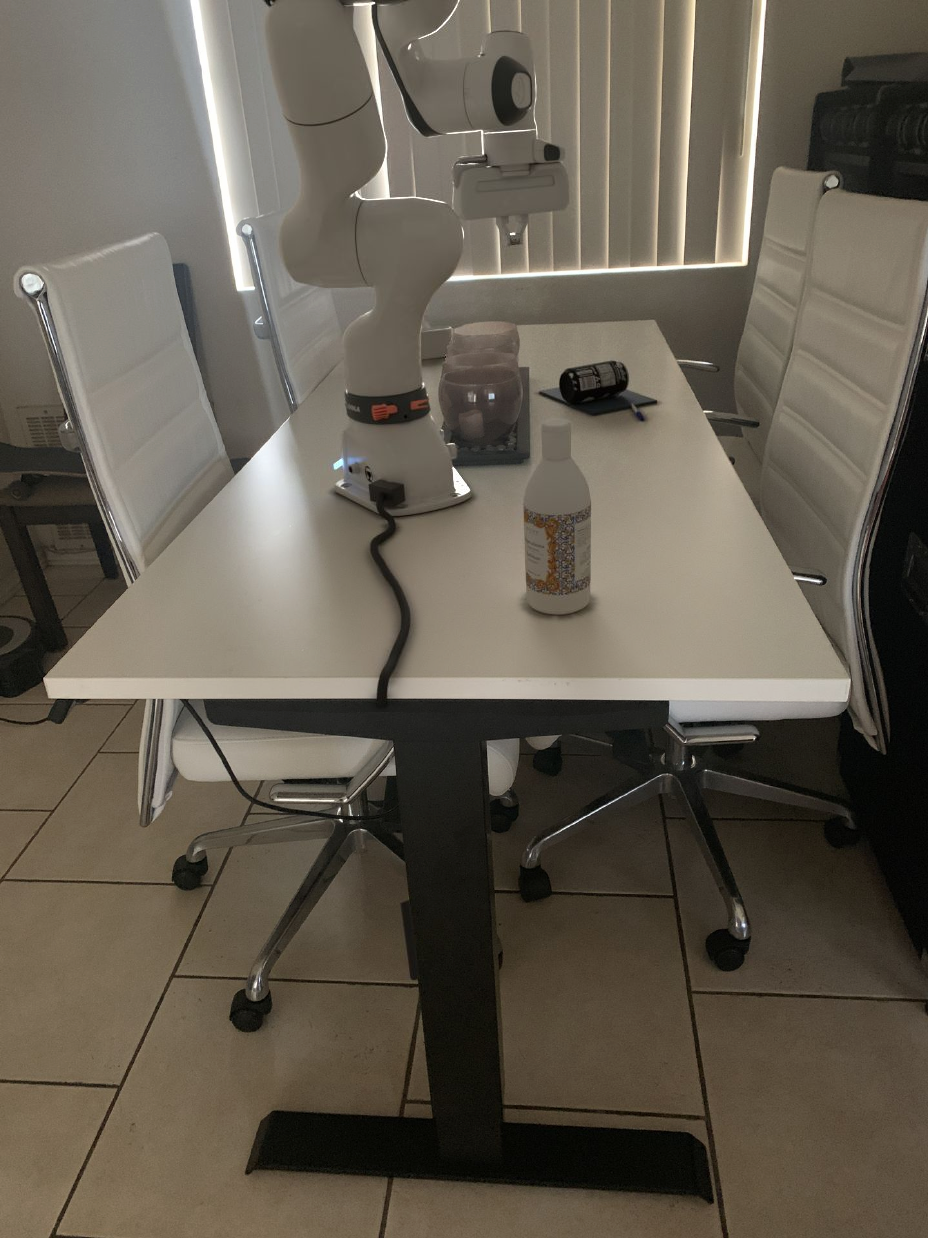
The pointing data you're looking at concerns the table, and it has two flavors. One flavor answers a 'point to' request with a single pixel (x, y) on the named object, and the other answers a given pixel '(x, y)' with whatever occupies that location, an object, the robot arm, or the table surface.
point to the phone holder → (434, 340)
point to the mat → (603, 401)
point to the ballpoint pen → (637, 412)
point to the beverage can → (593, 381)
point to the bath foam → (557, 527)
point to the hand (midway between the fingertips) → (512, 245)
